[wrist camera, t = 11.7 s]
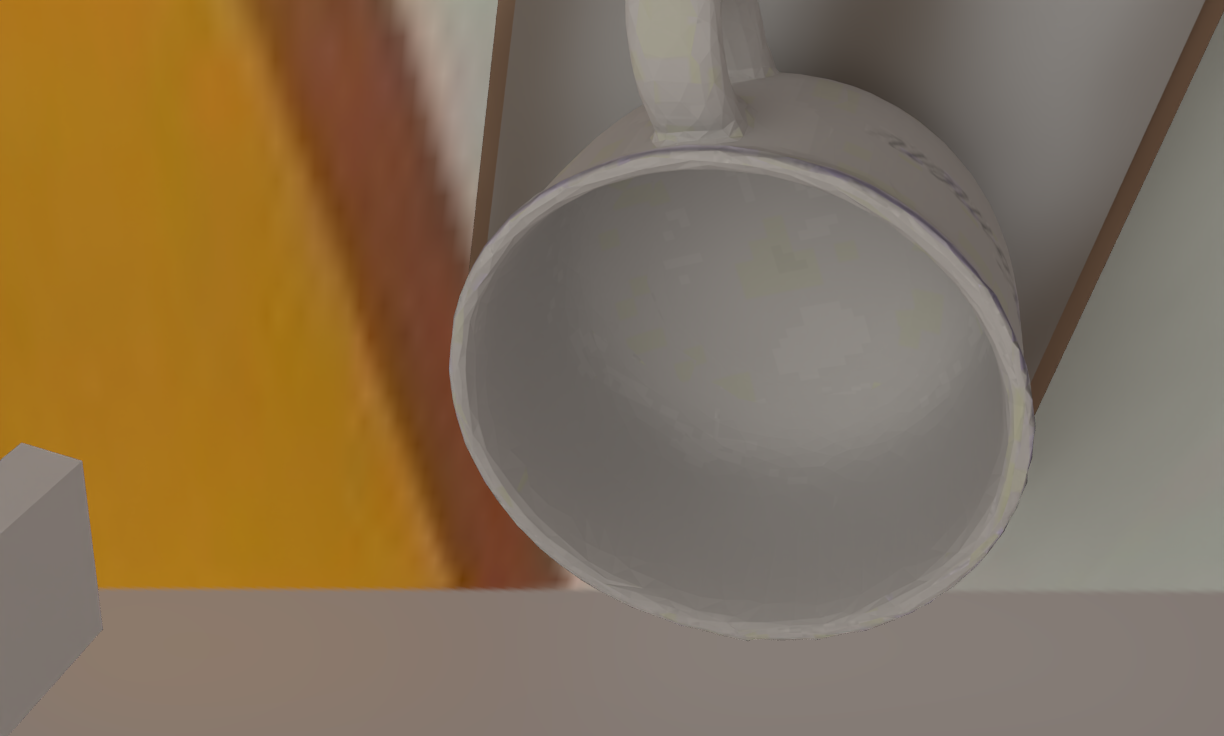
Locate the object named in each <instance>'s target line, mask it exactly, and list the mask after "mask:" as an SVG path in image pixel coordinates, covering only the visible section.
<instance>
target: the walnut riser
mask: <svg viewBox="0 0 1224 736" xmlns="http://www.w3.org/2000/svg"><path fill="white" fill-rule="evenodd" d="M758 2H759V7H760V12H761V17H762V22H763V27H764V32H765V37H766V41H767V44H768V46H769V49H770V51H771V54H772V57H773V61H774V64H775V67H776V69H777V70H778V71H779V72H781V73H793V74H802V75H808V76H813V77H819V78H824V79H829V80H834V81H837V82H841V83H844V84H848V85H851V86H854V87H857V88H859V89H862V90H864V91H867V92H869V93H872V94H874V95H875V96H877V97H879V98H881V99H883V100H885V101H887V102H889V103H891V104H893V105H895V106H896V107H898V108H900V109H902V110H903V111H905V112H906V113H908V114H909V115H911V116H912V117H914V118H915V119H917V120H918V121H919V122H921V123H922V124H923V125H924V126H925V127H926V128H928V129H929V130H930V131H931V132H932V133H934V134H935V135H936V136H937V137H938V138H939V139H941V140H942V141H943V142H944V143H945V144H946V145H947V146H948V147H949V148H950V150H951V151H952V152H953V153H954V154H955V155H956V156H957V158H958V159H959V160H960V161H961V162H962V163H963V165H964V166H965V167H966V168H967V170H968V171H969V172H970V173H971V174H972V176H973V177H974V179H975V180H976V182H977V184H978V185H979V187H980V189H981V190H982V192H983V194H984V195H985V197H986V198H987V200H988V202H989V203H990V205H991V208H992V210H993V212H994V214H995V217H996V219H997V221H998V224H999V226H1000V229H1001V232H1002V234H1003V237H1004V240H1005V242H1006V245H1007V248H1008V252H1009V256H1010V260H1011V264H1012V268H1013V272H1014V277H1015V283H1016V289H1017V295H1018V301H1019V310H1020V321H1021V331H1022V341H1023V351H1024V359H1025V362H1026V365H1027V369H1028V374H1029V379H1030V385H1031V392H1032V400H1033V410H1034V415H1035V413H1036V411H1037V409H1038V407H1039V405H1040V403H1041V400H1042V398H1043V396H1044V394H1045V392H1046V390H1047V388H1048V385H1049V383H1050V381H1051V379H1052V377H1053V375H1054V373H1055V371H1056V368H1057V366H1058V364H1059V362H1060V360H1061V358H1062V356H1063V353H1064V351H1065V349H1066V347H1067V345H1068V343H1069V341H1070V338H1071V336H1072V334H1073V332H1074V330H1075V328H1076V326H1077V324H1078V321H1079V319H1080V317H1081V315H1082V313H1083V311H1084V309H1085V306H1086V304H1087V302H1088V300H1089V298H1090V296H1091V294H1092V291H1093V289H1094V287H1095V285H1096V283H1097V281H1098V279H1099V276H1100V274H1101V272H1102V270H1103V268H1104V266H1105V264H1106V262H1107V259H1108V257H1109V255H1110V253H1111V251H1112V249H1113V247H1114V244H1115V242H1116V240H1117V238H1118V236H1119V234H1120V232H1121V229H1122V227H1123V225H1124V223H1125V221H1126V219H1127V217H1128V215H1129V212H1130V210H1131V208H1132V206H1133V204H1134V202H1135V200H1136V197H1137V195H1138V193H1139V191H1140V189H1141V187H1142V185H1143V182H1144V180H1145V178H1146V176H1147V174H1148V172H1149V170H1150V167H1151V165H1152V163H1153V161H1154V159H1155V157H1156V155H1157V153H1158V150H1159V148H1160V146H1161V144H1162V142H1163V140H1164V138H1165V135H1166V133H1167V131H1168V129H1169V127H1170V125H1171V123H1172V120H1173V118H1174V116H1175V114H1176V112H1177V110H1178V108H1179V106H1180V103H1181V101H1182V99H1183V97H1184V95H1185V93H1186V91H1187V88H1188V86H1189V84H1190V82H1191V80H1192V78H1193V76H1194V73H1195V71H1196V69H1197V67H1198V65H1199V63H1200V61H1201V58H1202V56H1203V54H1204V52H1205V50H1206V48H1207V46H1208V44H1209V41H1210V39H1211V37H1212V35H1213V33H1214V31H1215V29H1216V26H1217V24H1218V22H1219V20H1220V18H1221V16H1222V14H1223V11H1224V0H758ZM641 105H643V102H642V100H641V98H640V95H639V92H638V88H637V84H636V80H635V76H634V72H633V68H632V64H631V59H630V51H629V44H628V37H627V30H626V15H625V0H498V7H497V16H496V26H495V35H494V44H493V53H492V63H491V72H490V81H489V90H488V99H487V109H486V118H485V127H484V136H483V146H482V155H481V164H480V173H479V182H478V192H477V201H476V210H475V219H474V229H473V238H472V247H471V256H470V265H469V273H470V271H471V269H472V267H473V265H474V263H475V262H476V260H477V258H478V256H479V254H480V253H481V251H482V249H483V247H484V246H485V245H486V244H487V242H488V241H489V240H490V239H491V238H492V237H493V235H494V234H495V233H496V232H497V231H498V230H499V228H500V227H501V226H502V225H503V224H504V223H505V221H506V220H507V219H508V218H509V217H510V216H511V215H512V214H513V213H514V212H515V211H516V210H518V209H519V208H520V207H521V206H523V205H524V204H525V203H526V202H528V201H529V200H530V199H531V198H533V197H534V196H535V195H536V194H538V193H540V192H541V191H543V190H544V189H545V188H546V187H547V186H548V185H549V184H550V183H551V182H552V181H553V180H554V178H555V177H556V176H557V175H558V174H559V173H560V172H561V171H562V170H563V169H564V168H565V167H566V166H567V165H568V164H569V163H570V162H571V161H572V160H573V159H574V158H575V157H576V156H577V155H579V154H580V153H581V152H582V151H583V150H584V149H585V148H586V147H587V146H588V145H589V144H590V143H591V142H592V141H593V140H594V139H595V138H597V137H598V136H599V135H600V134H602V133H603V132H604V131H605V130H607V129H608V128H609V127H610V126H612V125H613V124H614V123H616V122H617V121H618V120H620V119H621V118H623V117H624V116H626V115H627V114H629V113H630V112H632V111H633V110H635V109H636V108H638V107H640V106H641Z"/></svg>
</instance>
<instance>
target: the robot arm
mask: <svg viewBox="0 0 1224 736" xmlns="http://www.w3.org/2000/svg"><path fill="white" fill-rule="evenodd" d="M102 630H103V627H102V618H101V610H100V602H99V594H98V586H97V578H96V570H95V562H94V553H93V545H92V537H91V529H90V521H89V513H88V505H87V497H86V489H85V481H84V472H83V464H82V461H81V460H77V459H74V458H71V457H67V456H64V455H61V454H57V453H54V452H51V451H48V450H44V449H41V448H38V447H34V446H31V445H28V444H24V443H21V444H19V445H18V446H17V447H16V448H14V449H13V450H12V451H11V452H10V453H8V454H7V455H6V456H5V457H3V458H2V459H1V460H0V736H8V735H9V734H10V733H11V732H12V731H13V730H14V729H15V728H16V726H17V725H18V724H19V723H20V722H21V721H22V720H23V719H24V717H25V716H26V715H27V714H28V713H29V712H30V711H31V710H32V708H33V707H34V706H35V705H36V704H37V703H38V702H39V700H40V699H41V698H42V697H43V696H44V695H45V694H46V693H47V692H48V690H49V689H50V688H51V687H52V686H53V685H54V684H55V682H56V681H57V680H58V679H59V678H60V677H61V676H62V675H63V674H64V672H65V671H66V670H67V669H68V668H69V667H70V666H71V664H72V663H73V662H74V661H75V660H76V659H77V658H78V657H79V656H80V654H81V653H82V652H83V651H84V650H85V649H86V648H87V647H88V645H89V644H90V643H91V642H92V641H93V640H94V639H95V638H96V636H97V635H98V634H99V633H100V632H101V631H102Z"/></svg>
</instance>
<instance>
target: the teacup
mask: <svg viewBox="0 0 1224 736" xmlns="http://www.w3.org/2000/svg"><path fill="white" fill-rule="evenodd" d="M625 15H626V30H627V37H628V44H629V51H630V59H631V64H632V68H633V72H634V76H635V80H636V84H637V88H638V92H639V95H640V98H641V100H642V102H643V105H641V106H640V107H638V108H636V109H635V110H633V111H632V112H630V113H629V114H627V115H626V116H624V117H623V118H621V119H620V120H618V121H617V122H616V123H614V124H613V125H612V126H610V127H609V128H608V129H607V130H605V131H604V132H603V133H602V134H600V135H599V136H598V137H597V138H595V139H594V140H593V141H592V142H591V143H590V144H589V145H588V146H587V147H586V148H585V149H584V150H583V151H582V152H581V153H580V154H579V155H577V156H576V157H575V158H574V159H573V160H572V161H571V162H570V163H569V164H568V165H567V166H566V167H565V168H564V169H563V170H562V171H561V172H560V173H559V174H558V175H557V176H556V177H555V178H554V180H553V181H552V182H551V183H550V184H549V185H548V186H547V187H546V188H545V189H544V190H543V191H541V192H540V193H538V194H536V195H535V196H534V197H533V198H531V199H530V200H529V201H528V202H526V203H525V204H524V205H523V206H521V207H520V208H519V209H518V210H516V211H515V212H514V213H513V214H512V215H511V216H510V217H509V218H508V219H507V220H506V221H505V223H504V224H503V225H502V226H501V227H500V228H499V230H498V231H497V232H496V233H495V234H494V235H493V237H492V238H491V239H490V240H489V241H488V242H487V244H486V245H485V246H484V247H483V249H482V251H481V253H480V254H479V256H478V258H477V260H476V262H475V263H474V265H473V267H472V269H471V271H470V273H469V275H468V277H467V280H466V282H465V285H464V287H463V289H462V292H461V294H460V297H459V301H458V304H457V308H456V311H455V315H454V321H453V332H452V341H451V351H450V364H449V373H450V381H451V389H452V397H453V402H454V407H455V411H456V415H457V419H458V422H459V425H460V428H461V432H462V435H463V438H464V441H465V444H466V446H467V448H468V450H469V452H470V454H471V456H472V458H473V460H474V462H475V464H476V466H477V468H478V470H479V472H480V473H481V475H482V477H483V479H484V481H485V482H486V484H487V485H488V487H489V488H490V490H491V491H492V493H493V494H494V496H495V497H496V499H497V500H498V501H499V503H500V504H501V505H502V507H503V508H504V509H505V510H506V512H507V513H508V514H509V515H510V517H511V518H512V519H513V521H514V522H515V523H516V524H517V526H518V527H519V528H520V529H521V530H523V531H524V532H525V533H526V534H527V535H528V536H529V537H530V538H531V539H532V540H533V541H534V543H535V544H536V545H537V546H538V547H539V548H540V549H542V550H543V551H544V552H545V553H546V554H548V555H549V556H550V557H551V558H552V559H554V560H555V561H556V562H557V563H559V564H560V565H561V566H563V567H564V568H565V569H567V570H568V571H570V572H571V573H572V574H574V575H575V576H577V577H578V578H579V579H581V580H582V581H584V582H586V583H587V584H589V585H591V586H592V587H594V588H596V589H597V590H599V591H601V592H603V593H605V594H607V595H609V596H611V597H612V598H615V599H616V600H618V601H620V602H622V603H624V604H626V605H628V606H630V607H632V608H635V609H638V610H640V611H643V612H646V613H648V614H651V615H654V616H657V617H659V618H662V619H665V620H668V621H670V622H673V623H675V624H678V625H681V626H685V627H690V628H695V629H700V630H704V631H708V632H711V633H715V634H719V635H722V636H726V637H731V638H736V639H741V640H746V641H750V640H753V639H768V640H800V639H817V640H818V639H822V638H827V637H831V636H835V635H840V634H846V633H852V632H859V631H866V630H869V629H871V628H874V627H877V626H880V625H882V624H885V623H888V622H890V621H893V620H895V619H897V618H899V617H902V616H904V615H907V614H909V613H912V612H914V611H915V610H917V609H918V608H920V607H922V606H924V605H926V604H929V603H930V602H932V601H933V600H934V599H935V598H936V597H938V596H939V595H941V594H942V593H944V592H946V591H947V590H949V589H950V588H952V587H953V586H954V585H956V584H957V583H958V582H959V581H960V580H961V579H962V578H964V577H965V576H966V575H967V574H968V573H969V572H970V571H971V570H972V569H974V568H975V567H976V566H977V565H978V563H979V562H980V561H981V560H982V559H983V558H984V557H985V556H986V555H987V553H988V552H989V551H990V549H991V548H992V547H993V545H994V544H995V543H996V541H997V540H998V539H999V537H1000V536H1001V535H1002V533H1003V532H1004V531H1005V528H1006V526H1007V524H1008V522H1009V520H1010V518H1011V516H1012V515H1013V513H1014V511H1015V510H1016V508H1017V506H1018V502H1019V499H1020V496H1021V494H1022V492H1023V490H1024V488H1025V486H1026V484H1027V471H1028V469H1029V466H1030V463H1031V460H1032V452H1033V439H1034V433H1035V417H1034V410H1033V400H1032V392H1031V385H1030V379H1029V374H1028V369H1027V365H1026V362H1025V359H1024V351H1023V341H1022V331H1021V321H1020V310H1019V301H1018V295H1017V289H1016V283H1015V277H1014V272H1013V268H1012V264H1011V260H1010V256H1009V252H1008V248H1007V245H1006V242H1005V240H1004V237H1003V234H1002V232H1001V229H1000V226H999V224H998V221H997V219H996V217H995V214H994V212H993V210H992V208H991V205H990V203H989V202H988V200H987V198H986V197H985V195H984V194H983V192H982V190H981V189H980V187H979V185H978V184H977V182H976V180H975V179H974V177H973V176H972V174H971V173H970V172H969V171H968V170H967V168H966V167H965V166H964V165H963V163H962V162H961V161H960V160H959V159H958V158H957V156H956V155H955V154H954V153H953V152H952V151H951V150H950V148H949V147H948V146H947V145H946V144H945V143H944V142H943V141H942V140H941V139H939V138H938V137H937V136H936V135H935V134H934V133H932V132H931V131H930V130H929V129H928V128H926V127H925V126H924V125H923V124H922V123H921V122H919V121H918V120H917V119H915V118H914V117H912V116H911V115H909V114H908V113H906V112H905V111H903V110H902V109H900V108H898V107H896V106H895V105H893V104H891V103H889V102H887V101H885V100H883V99H881V98H879V97H877V96H875V95H874V94H872V93H869V92H867V91H864V90H862V89H859V88H857V87H854V86H851V85H848V84H844V83H841V82H837V81H834V80H829V79H824V78H819V77H813V76H808V75H802V74H793V73H781V72H779V71H778V70H777V69H776V67H775V64H774V61H773V57H772V54H771V51H770V49H769V46H768V44H767V41H766V37H765V32H764V27H763V22H762V17H761V12H760V7H759V2H758V0H625Z"/></svg>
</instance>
